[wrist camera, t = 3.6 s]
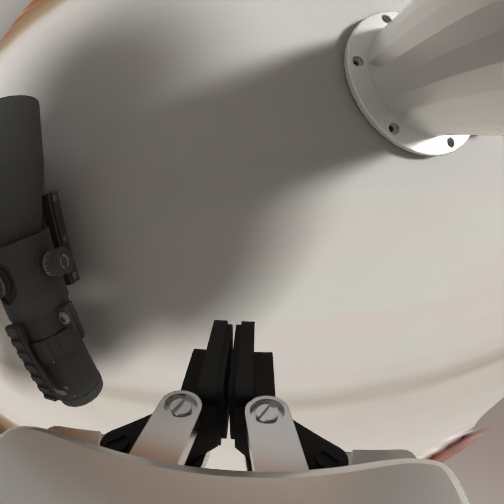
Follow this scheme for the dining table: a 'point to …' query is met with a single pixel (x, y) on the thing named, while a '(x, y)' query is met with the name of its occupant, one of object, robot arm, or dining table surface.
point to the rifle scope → (38, 265)
